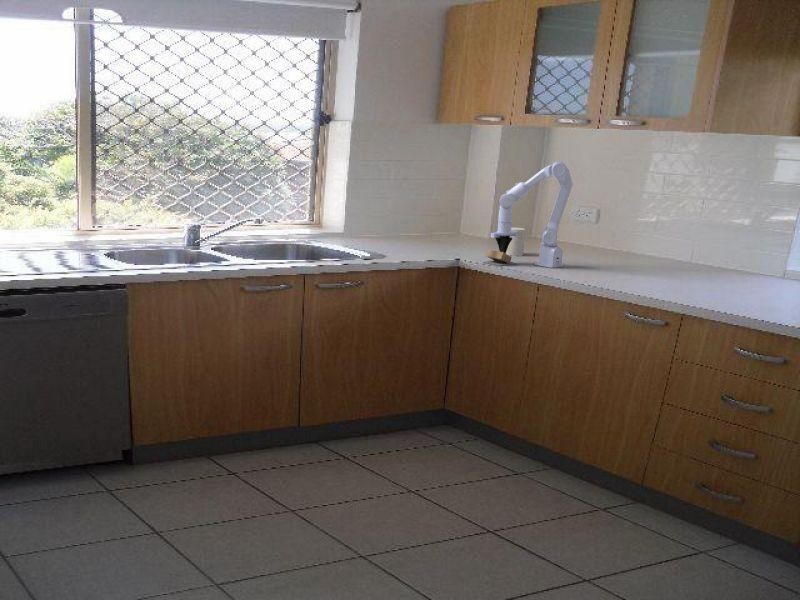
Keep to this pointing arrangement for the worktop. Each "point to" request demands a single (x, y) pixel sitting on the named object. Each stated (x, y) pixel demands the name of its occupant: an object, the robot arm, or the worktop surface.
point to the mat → (498, 263)
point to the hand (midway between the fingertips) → (502, 253)
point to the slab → (498, 256)
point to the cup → (517, 243)
